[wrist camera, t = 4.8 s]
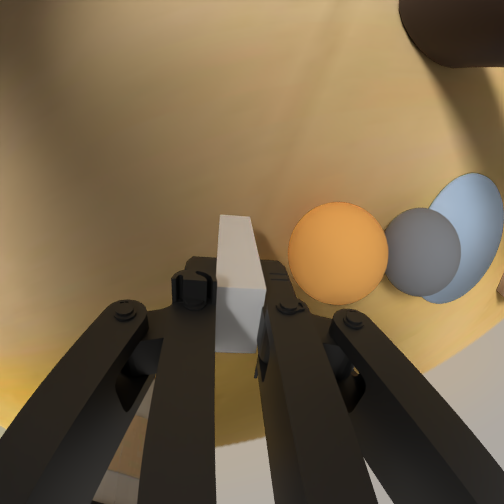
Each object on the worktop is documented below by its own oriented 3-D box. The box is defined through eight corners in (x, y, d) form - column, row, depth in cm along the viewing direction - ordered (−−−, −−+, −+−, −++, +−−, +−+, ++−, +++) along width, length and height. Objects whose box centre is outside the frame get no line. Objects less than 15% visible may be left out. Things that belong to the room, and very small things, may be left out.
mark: (435, 156, 15) (437, 157, 15) (513, 189, 17) (514, 190, 17) (391, 304, 21) (392, 306, 20) (475, 299, 22) (476, 300, 22)
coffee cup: (111, 339, 20) (60, 514, 6) (206, 389, 23) (207, 548, 10) (81, 385, 23) (46, 511, 9) (158, 423, 26) (149, 543, 12)
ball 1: (419, 239, 11) (384, 204, 16) (304, 207, 11) (300, 181, 16) (375, 333, 13) (357, 280, 18) (274, 314, 14) (280, 263, 19)
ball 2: (375, 192, 16) (438, 226, 11) (430, 200, 17) (486, 231, 12) (355, 270, 18) (402, 320, 14) (409, 267, 20) (455, 307, 15)
